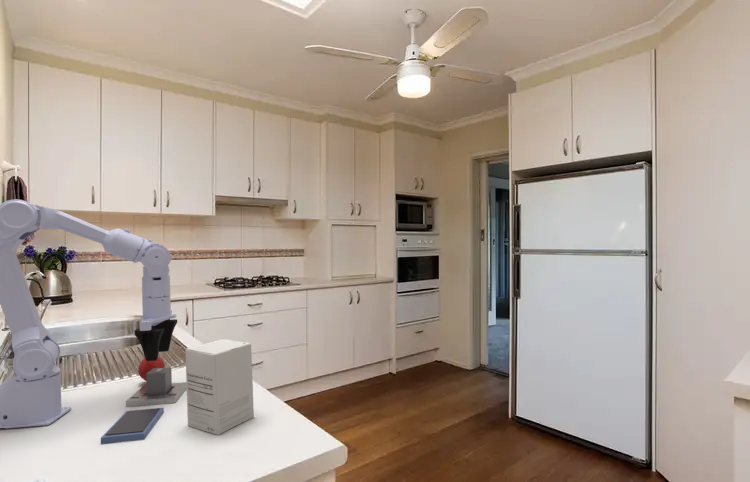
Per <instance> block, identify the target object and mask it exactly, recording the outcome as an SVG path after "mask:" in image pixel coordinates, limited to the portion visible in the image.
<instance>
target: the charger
mask: <svg viewBox="0 0 750 482" xmlns="http://www.w3.org/2000/svg"><path fill="white" fill-rule="evenodd" d="M172 375H173V374H172V367H165V368H153V369H152V370H151V371H149V372H148V373H147V374H146V381H145V382H146V385H147V396H154V395H167V394H168V393H169V392H170V391H171V390H172V383H173V380H172Z"/></svg>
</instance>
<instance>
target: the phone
mask: <svg viewBox="0 0 750 482" xmlns="http://www.w3.org/2000/svg"><path fill="white" fill-rule="evenodd" d="M164 408H165V407H155V408H145V409H131V410H126V411H124V413H123V414H122V415H121V416H119V418H118V419H117V420H116V421H115V422H114V423H113V425H111V426H110V427H109V428H108V430H107V431H106V432H105V433H104V434H103V435H102V436H101V437H100V445H107V444H115V443H116V444H117V443H126V442H133V441H134V442H135V441H143V440H144V441H145V439H146V438H147V436H148V435H149V434H150V432H151V431H152V429H154V427H155V425H156V424H157V423H158V421H159V419H161V417H162V416H163V414H164V413H165V409H164Z"/></svg>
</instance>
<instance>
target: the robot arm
mask: <svg viewBox="0 0 750 482" xmlns="http://www.w3.org/2000/svg"><path fill="white" fill-rule="evenodd" d="M39 230H45V231H50V230H51V231H53V230H61V231H63V232H64V231H65V232H68V233H70V234H73V235H76V236H79V237H81V238H84V239H88V240H90V241H93V242H96V243H99V244H101V245H102V247H103V248H102V249H103V250H104V252H105V253H107V254H109V255H111V256H112V255H113V256H116V257H117V258H121V259H124V260H125V261H129V262H132V263H134V264H135V263H138V262H139V263H141V264H142V277H141V294H142V295H141V296H142V297H141V300H142V305H141V307H142V316H141V321H139V328H136V329H134V332H133V333H134V335H135V338H137V340H138V342H139V344H140V346H141V348H142V352H143V355H144V358H145V359H146V361H156V360H157V358H158V357H159V353H162V352H163V353H164V352H165V353H166V352H169V350H170V346H171V342H172V336H173V333H174V331H175V327H176V326H177V324H178V319H177V314H176V313H172V309H171V305H172V304H171V276H170V267H169V265H170V264H171V261H172V256H171V253H170V251H169V250H168V249H167V247H165V246H164V245H161V244H159V243H153V239H151V238H147V239H146V238H144V237H141V236H140V235H139V236H138V235H136V234H134V233H131V230H130V229H129V228H126V227H125V228H124V229H121V228H115V229H111V230H107V229H105V228H101V227H100V226H97V225H95V224H92V223H89V221H85V220H83V219H80V218H78V217H76V216H73V215H71V214H69V213H66V212H64V211H61V210H58V209H54V208H51V207H48V206H47V207H46V206H45V205H39V204H32V203H30V202H28V201H26V200H23V199H17V198H16V199H8V200H6V201H3V202H2V203H0V309H1V311H2V312H3V316H4V318H5V320H6V323H7V325H8V328H9V330H10V333H11V348H12V351H13V353H14V355H13V356H14V357H13V361H12V369H13V372H14V373H15V375H14V376H11V377H8V378H5V380H3V382H1V385H0V428H6V429H15V428H16V429H17V428H29V427H41V426H49V425H51V424H52V423H54V422H56V420H58V419H59V418H60V417H62V416H63V415H65V414H66V413H68V412H69V411H70V410H72V407H71V406H66V407H65V406H64V407H62V380H61V379H62V378H61V375H62V374H61V368H60V367H59V366H58V365H57V364H56V363H55V362H57V360H58V359H59V357H60V356H61V347H60V345H59V343H57V341H55V340H54V339H53V338H52V337H51V336H50V334H49V331H48V330H47V328H46V327H45V326H44V324H43V322H42V320H41V316H40V314H39V312H38V309H37V307H36V304H35V301H34V298H33V296H32V293H31V290H30V288H29V285H28V283H27V279H26V277H25V275H24V272H23V269H22V266H21V264H20V261H19V258H18V255H17V253H16V251H18V249H19V247H20V246H22V244H23V242H24V241H26V239H27V238H28V237H30V236H31V235H33V234H35V233H36V232H37V231H39Z"/></svg>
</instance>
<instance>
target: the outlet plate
mask: <svg viewBox="0 0 750 482" xmlns="http://www.w3.org/2000/svg"><path fill="white" fill-rule="evenodd" d="M185 391H187V383H186V381H183V382H172V390H171V391H170V392H169V393H168V394H167V395H154V396H147V385H142V386H141V387H140V388H139V389H138V390H136V391H135V393H133V394H132V396H130V397H129V398H128V399H127V400H125V407H126V408H127V407H140V406H151V405H154V406H155V405H165V404H166V405H167V404H176V403H177V401H178V400H179V399H180V398H181V397H182V395H183V394H184V393H185Z"/></svg>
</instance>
